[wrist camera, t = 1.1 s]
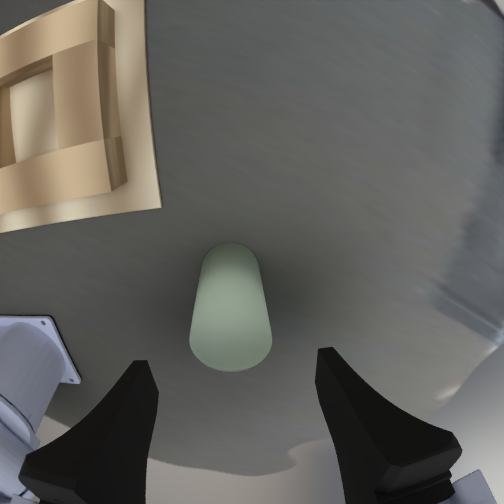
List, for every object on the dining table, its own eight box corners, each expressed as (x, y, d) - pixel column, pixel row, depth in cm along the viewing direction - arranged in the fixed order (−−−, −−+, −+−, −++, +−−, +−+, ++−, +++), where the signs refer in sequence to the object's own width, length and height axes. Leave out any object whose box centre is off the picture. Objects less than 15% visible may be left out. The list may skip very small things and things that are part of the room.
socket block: (-8, 233, 19) (-31, 248, 16) (-27, 54, 13) (-52, 52, 10) (162, 206, 20) (150, 221, 17) (145, -18, 14) (131, -39, 10)
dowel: (205, 296, 23) (196, 373, 15) (197, 245, 21) (182, 311, 14) (260, 291, 23) (273, 367, 16) (256, 240, 21) (270, 304, 14)
